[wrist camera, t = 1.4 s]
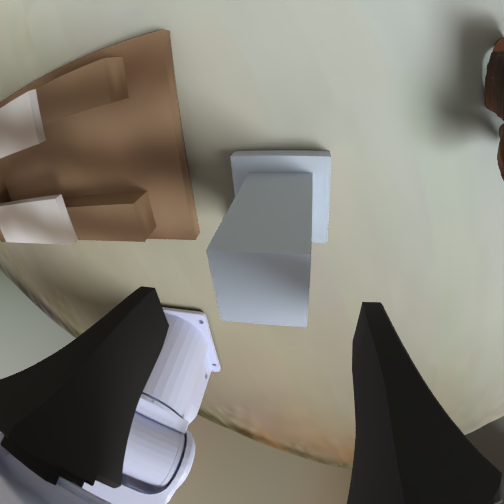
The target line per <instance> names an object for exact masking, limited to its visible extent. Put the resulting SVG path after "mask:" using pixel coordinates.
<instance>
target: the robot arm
mask: <svg viewBox="0 0 504 504" xmlns="http://www.w3.org/2000/svg"><path fill="white" fill-rule="evenodd" d="M220 370H221V367H220V364H219V360H218V357H217V353H216V350H215V346H214V343H213V339H212V336H211V332H210V329H209V325H208V321H207V318H206V315H205V314H204V313H203V312H200V311H191V310H182V309H174V308H166V307H162V306H161V303H160V300H159V298H158V295H157V292H156V290H155V288H151V287H142V286H141V287H140V288H138V289H137V290H136V291H134V292H133V293H132V294H131V295H129V296H128V297H127V298H126V299H124V300H123V301H122V302H121V303H120V304H118V305H117V306H116V307H115V308H114V309H112V310H111V311H110V312H109V313H108V314H106V315H105V316H104V317H103V318H102V319H100V320H99V321H98V322H97V323H95V324H94V325H93V326H92V327H90V328H89V329H88V330H86V331H85V332H84V333H83V334H81V335H80V336H79V337H77V338H76V339H75V340H73V341H72V342H71V343H69V344H68V345H66V346H65V347H63V348H62V349H60V350H59V351H57V352H56V353H54V354H53V355H51V356H49V357H47V358H46V359H44V360H42V361H41V362H38V363H37V364H35V365H33V366H31V367H29V368H27V369H25V370H23V371H21V372H18V373H16V374H14V375H11V376H9V377H6V378H4V379H0V504H166V503H168V502H169V501H170V499H171V497H172V495H173V494H174V492H175V491H176V489H177V488H178V487H179V486H180V485H181V484H182V483H183V482H184V480H185V479H186V477H187V475H188V473H189V471H190V469H191V466H192V463H193V460H194V455H195V442H194V440H193V436H192V434H191V433H190V432H188V431H186V430H187V427H188V424H189V423H190V422H192V420H193V419H194V418H195V417H196V415H197V413H198V411H199V408H200V404H201V401H202V398H203V395H204V392H205V389H206V386H207V383H208V380H209V377H210V374H211V371H213V372H219V371H220ZM352 373H353V386H354V401H355V418H356V439H355V450H354V461H353V469H352V477H351V483H350V490H349V495H348V501H347V504H499V503H501V502H502V501H503V499H504V493H503V478H502V473H501V472H500V471H499V470H498V469H497V468H495V466H493V465H492V464H491V463H490V462H489V461H488V460H487V459H486V458H485V457H484V456H483V455H482V454H481V453H480V452H479V451H478V450H477V449H476V448H475V447H474V445H472V443H471V442H470V441H469V440H468V439H467V438H466V436H465V435H464V434H463V433H462V432H461V430H460V429H459V428H458V427H457V426H456V424H455V423H454V422H453V421H452V420H451V418H450V417H449V416H448V414H447V413H446V412H445V410H444V409H443V408H442V406H441V405H440V404H439V402H438V401H437V399H436V398H435V396H434V395H433V394H432V392H431V391H430V389H429V388H428V386H427V384H426V383H425V381H424V380H423V378H422V376H421V375H420V373H419V372H418V370H417V368H416V367H415V365H414V363H413V361H412V360H411V358H410V356H409V354H408V353H407V351H406V349H405V347H404V346H403V344H402V342H401V340H400V338H399V336H398V334H397V333H396V331H395V329H394V327H393V325H392V323H391V321H390V319H389V317H388V315H387V313H386V311H385V309H384V307H383V305H382V304H381V303H379V302H362V306H361V311H360V315H359V319H358V323H357V327H356V331H355V335H354V338H353V350H352Z"/></svg>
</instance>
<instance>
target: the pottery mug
mask: <svg viewBox="0 0 504 504" xmlns="http://www.w3.org/2000/svg"><path fill="white" fill-rule="evenodd" d="M485 99H486V107H487V108H488V109H489V110H491V111H493V112H495V113H496V114H497V116H499V117H500V118H502V119H503V121H504V38H501V39H499V40H498V41H497V43H496V44H495V46H494V49H493V52H492V53H491V56H490V60H489V63H488V65H487V74H486V78H485ZM499 137H500V143H499V148H498V154H497V160H498V166H499V169H500V172H501V176H502V178H503V180H504V124H502V125H501V126H500V128H499Z"/></svg>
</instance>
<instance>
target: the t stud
mask: <svg viewBox="0 0 504 504" xmlns="http://www.w3.org/2000/svg"><path fill="white" fill-rule="evenodd" d="M230 159H231V168H232V177H233V186H234V195H235V198H234V200H233V202H232V204H231V206H230V207H229V209H228V211H227V213H226V215H225V216H224V218H223V220H222V222H221V224H220V226H219V227H218V229H217V231H216V233H215V235H214V237H213V239H212V240H211V242H210V244H209V246H208V248H207V250H206V252H207V257H208V262H209V267H210V271H211V276H212V281H213V286H214V291H215V295H216V300H217V305H218V309H219V314H220V318H221V320H224V321H234V322H244V323H256V324H268V325H282V326H298V327H307V315H308V301H309V285H310V267H311V243H327V236H328V220H329V200H330V172H331V155H330V151H312V150H254V151H235V152H234V153H233V154H232V155H231V156H230Z"/></svg>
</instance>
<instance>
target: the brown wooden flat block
mask: <svg viewBox="0 0 504 504" xmlns="http://www.w3.org/2000/svg"><path fill="white" fill-rule="evenodd" d="M199 233H200V230H199V225H198V220H197V215H196V209H195V204H194V198H193V193H192V187H191V182H190V176H189V170H188V164H187V158H186V152H185V146H184V139H183V133H182V126H181V119H180V112H179V105H178V98H177V91H176V83H175V75H174V67H173V59H172V50H171V41H170V31H167V30H159V31H155V32H152V33H148V34H145V35H141V36H138V37H135V38H132V39H129V40H126V41H123V42H120V43H117V44H115V45H112V46H109V47H107V48H104V49H101V50H99V51H96V52H94V53H91V54H89V55H87V56H84V57H82V58H80V59H78V60H75V61H73V62H71V63H69V64H67V65H65V66H63V67H61V68H59V69H57V70H55V71H53V72H51V73H49V74H47V75H45V76H43V77H41V78H40V79H38V80H36V81H34V82H32V83H31V84H29V85H27V86H26V87H24V88H22V89H21V90H19V91H17V92H16V93H14V94H13V95H11V96H9V97H8V98H6V99H5V100H3V101H2V102H0V240H1V242H17V243H41V244H64V245H73V244H74V243H75V242H76V241H77V240H103V241H136V242H145V240H146V239H180V240H196V238H197V236H198V235H199Z"/></svg>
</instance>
